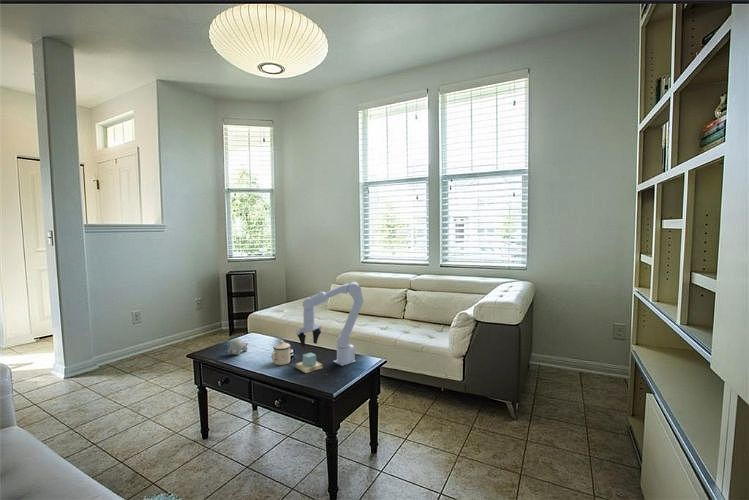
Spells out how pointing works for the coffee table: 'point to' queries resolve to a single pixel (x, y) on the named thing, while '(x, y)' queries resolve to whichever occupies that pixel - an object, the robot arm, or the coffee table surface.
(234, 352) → the chubby cartoon animal
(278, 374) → the coffee table surface
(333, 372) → the coffee table surface
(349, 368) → the coffee table surface
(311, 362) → the teal cube
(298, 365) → the maple base
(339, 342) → the robot arm
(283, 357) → the teacup with lid
